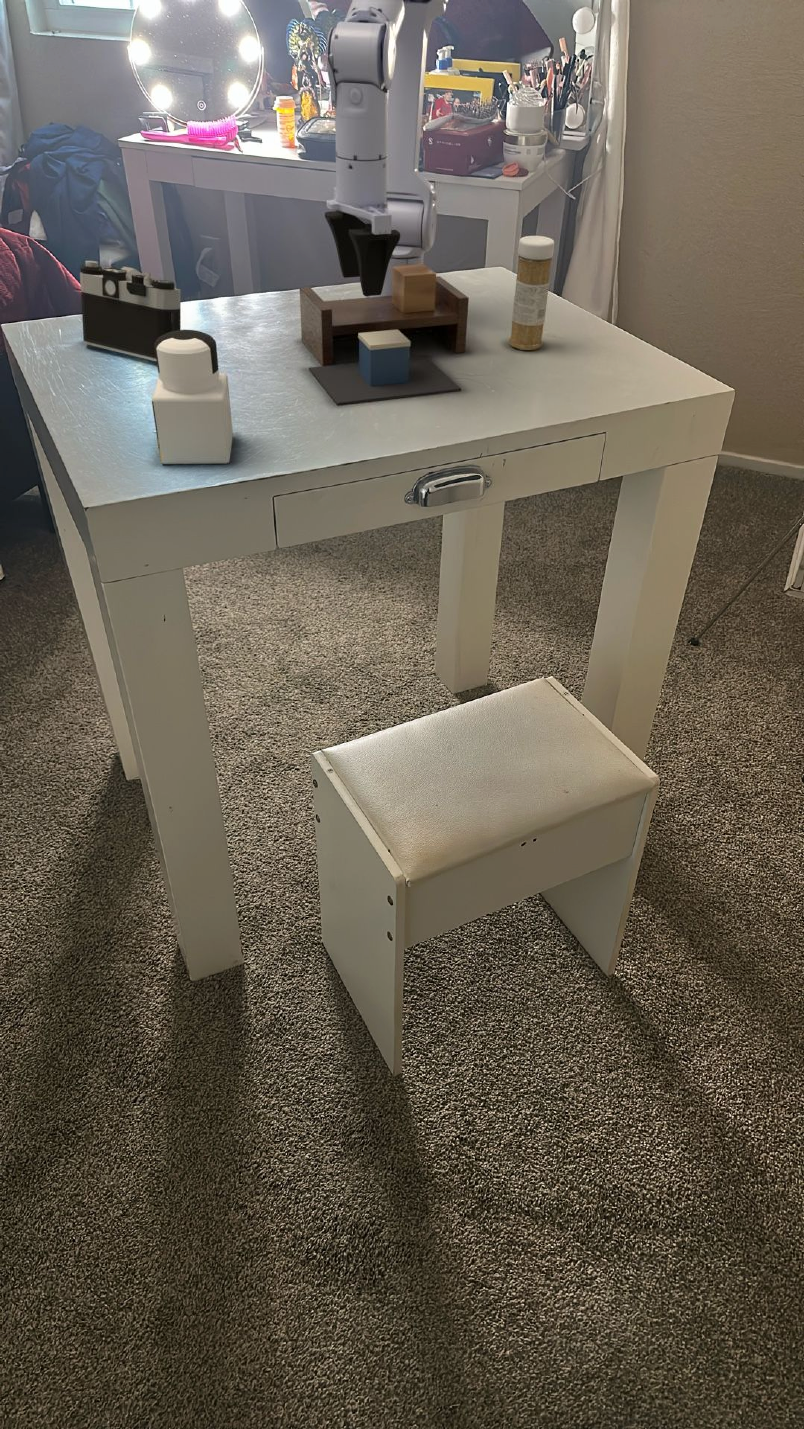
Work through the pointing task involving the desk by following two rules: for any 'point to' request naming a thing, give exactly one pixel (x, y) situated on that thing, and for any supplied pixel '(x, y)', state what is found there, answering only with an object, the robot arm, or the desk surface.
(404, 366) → the blue box
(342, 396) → the mat
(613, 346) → the desk surface
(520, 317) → the sprinkles bottle
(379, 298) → the shelf
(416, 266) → the tan box
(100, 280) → the camera
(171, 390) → the medicine bottle
